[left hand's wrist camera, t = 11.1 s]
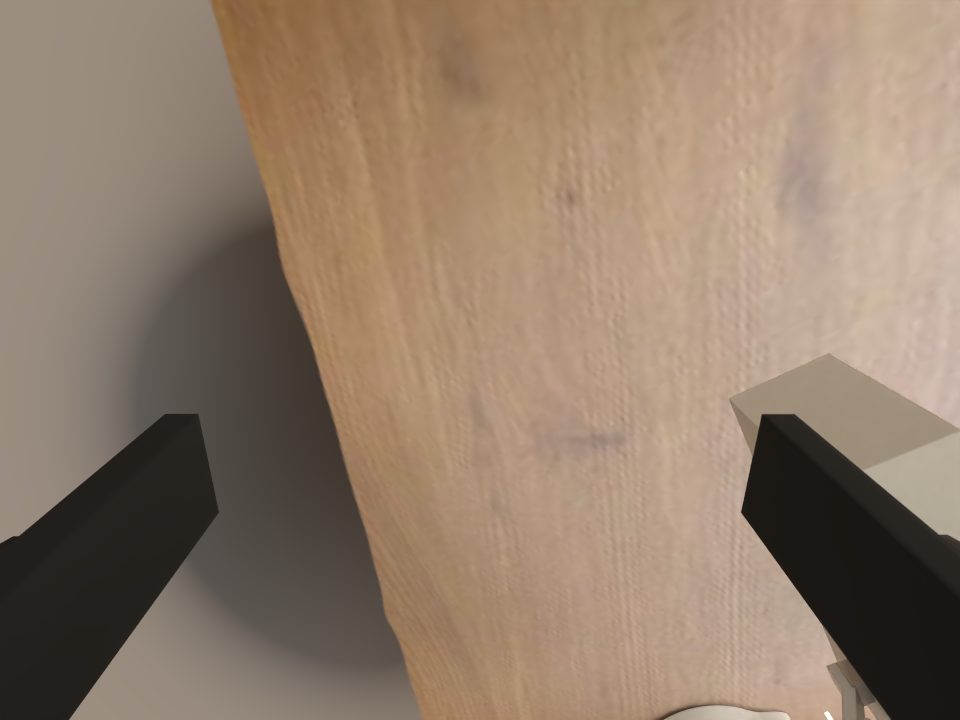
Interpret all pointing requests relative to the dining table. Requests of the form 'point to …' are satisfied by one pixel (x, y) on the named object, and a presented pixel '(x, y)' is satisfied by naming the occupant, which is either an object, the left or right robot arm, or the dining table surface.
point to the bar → (868, 439)
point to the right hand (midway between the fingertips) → (899, 646)
